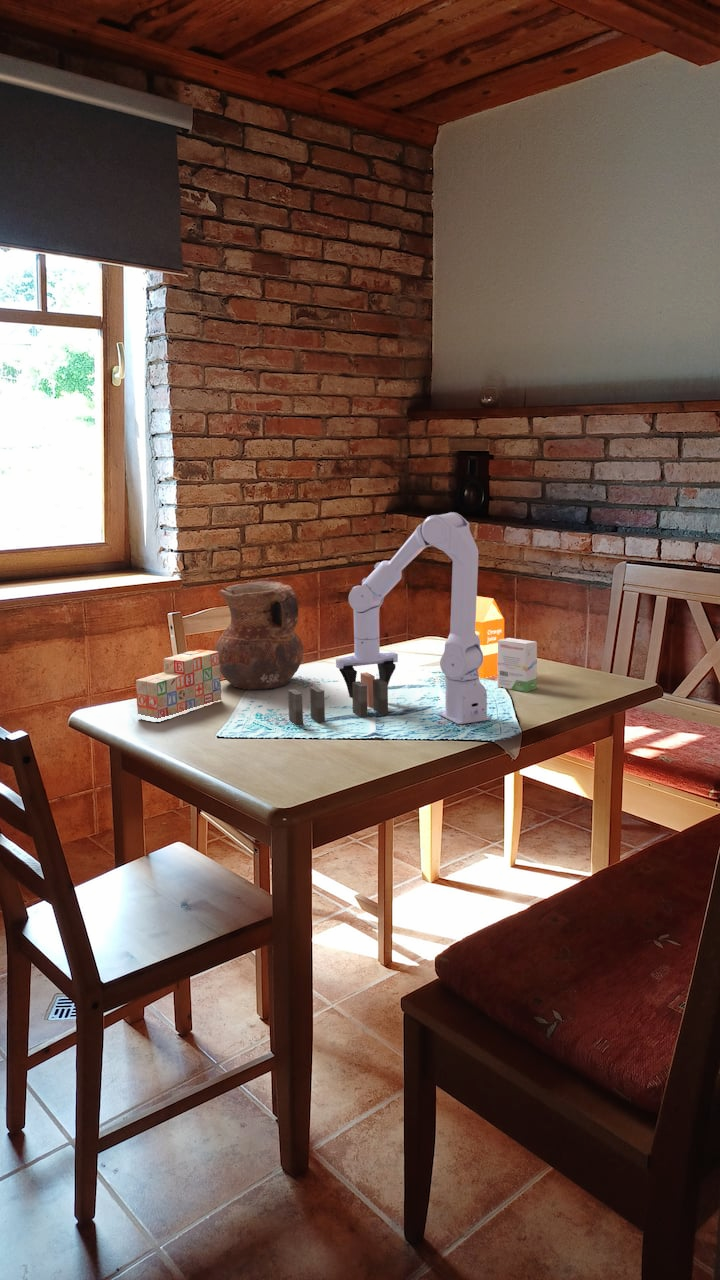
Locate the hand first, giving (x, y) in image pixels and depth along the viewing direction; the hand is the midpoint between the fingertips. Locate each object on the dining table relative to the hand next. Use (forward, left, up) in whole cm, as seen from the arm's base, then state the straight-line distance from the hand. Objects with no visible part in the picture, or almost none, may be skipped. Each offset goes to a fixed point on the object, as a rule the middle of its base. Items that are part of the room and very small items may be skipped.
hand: (367, 695), depth 224 cm
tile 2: (-7, +5, -2) cm, 9 cm away
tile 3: (-7, +15, -2) cm, 17 cm away
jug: (+31, +16, -2) cm, 35 cm away
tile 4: (-7, +20, -2) cm, 21 cm away
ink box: (-3, -38, -2) cm, 38 cm away
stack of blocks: (+15, +40, -2) cm, 43 cm away
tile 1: (-7, 0, -2) cm, 7 cm away
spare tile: (0, 0, -2) cm, 2 cm away
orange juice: (+14, -38, -2) cm, 41 cm away
